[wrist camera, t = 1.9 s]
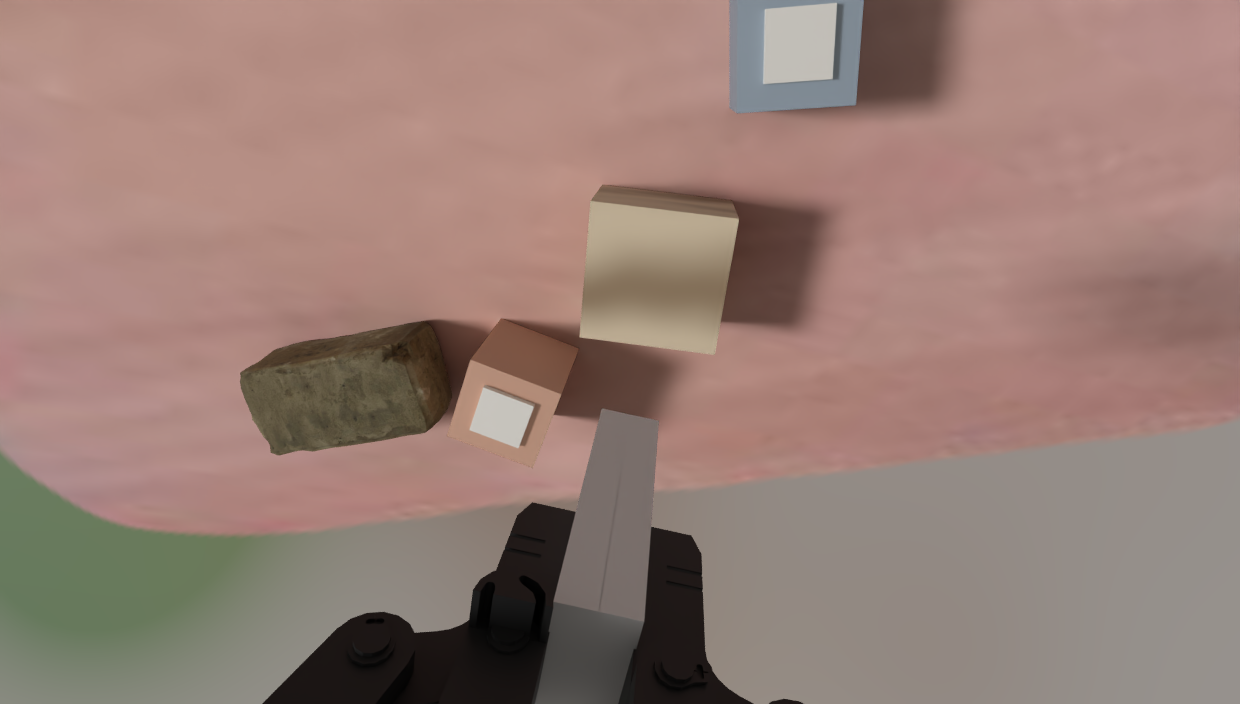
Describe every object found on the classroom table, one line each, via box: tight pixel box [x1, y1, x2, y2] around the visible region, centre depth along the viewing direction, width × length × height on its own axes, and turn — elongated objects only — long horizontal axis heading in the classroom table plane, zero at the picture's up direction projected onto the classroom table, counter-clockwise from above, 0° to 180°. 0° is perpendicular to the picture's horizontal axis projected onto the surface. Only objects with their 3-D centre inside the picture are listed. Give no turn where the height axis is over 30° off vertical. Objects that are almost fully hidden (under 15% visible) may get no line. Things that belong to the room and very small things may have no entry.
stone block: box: [240, 321, 452, 455], centre depth 38 cm, size 6×12×5 cm, turn 103°
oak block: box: [580, 185, 739, 355], centre depth 33 cm, size 7×7×5 cm
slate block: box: [730, 0, 864, 113], centre depth 28 cm, size 5×5×5 cm
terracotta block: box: [447, 319, 579, 468], centre depth 36 cm, size 5×5×6 cm
